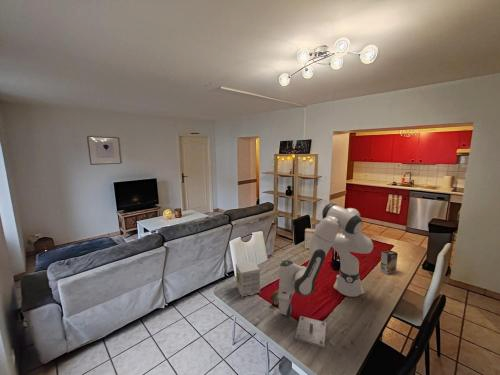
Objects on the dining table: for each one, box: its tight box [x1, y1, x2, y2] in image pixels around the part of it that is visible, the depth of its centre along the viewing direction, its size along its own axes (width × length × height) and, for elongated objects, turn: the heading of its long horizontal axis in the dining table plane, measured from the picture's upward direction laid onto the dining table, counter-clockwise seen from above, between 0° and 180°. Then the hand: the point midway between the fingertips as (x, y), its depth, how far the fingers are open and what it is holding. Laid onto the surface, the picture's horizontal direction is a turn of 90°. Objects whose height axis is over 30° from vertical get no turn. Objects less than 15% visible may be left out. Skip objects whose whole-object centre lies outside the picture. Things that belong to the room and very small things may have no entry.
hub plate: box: [294, 315, 327, 349], centre depth 115 cm, size 16×14×4 cm
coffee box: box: [379, 249, 398, 275], centre depth 170 cm, size 9×6×16 cm
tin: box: [270, 288, 279, 306], centre depth 139 cm, size 15×3×8 cm, turn 127°
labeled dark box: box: [280, 302, 293, 318], centre depth 129 cm, size 5×5×6 cm
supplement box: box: [235, 260, 261, 298], centre depth 151 cm, size 13×13×18 cm
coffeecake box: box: [304, 227, 316, 249], centre depth 214 cm, size 15×7×20 cm, turn 66°
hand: (286, 310), depth 129 cm, fingers closed on labeled dark box, 5 cm apart
